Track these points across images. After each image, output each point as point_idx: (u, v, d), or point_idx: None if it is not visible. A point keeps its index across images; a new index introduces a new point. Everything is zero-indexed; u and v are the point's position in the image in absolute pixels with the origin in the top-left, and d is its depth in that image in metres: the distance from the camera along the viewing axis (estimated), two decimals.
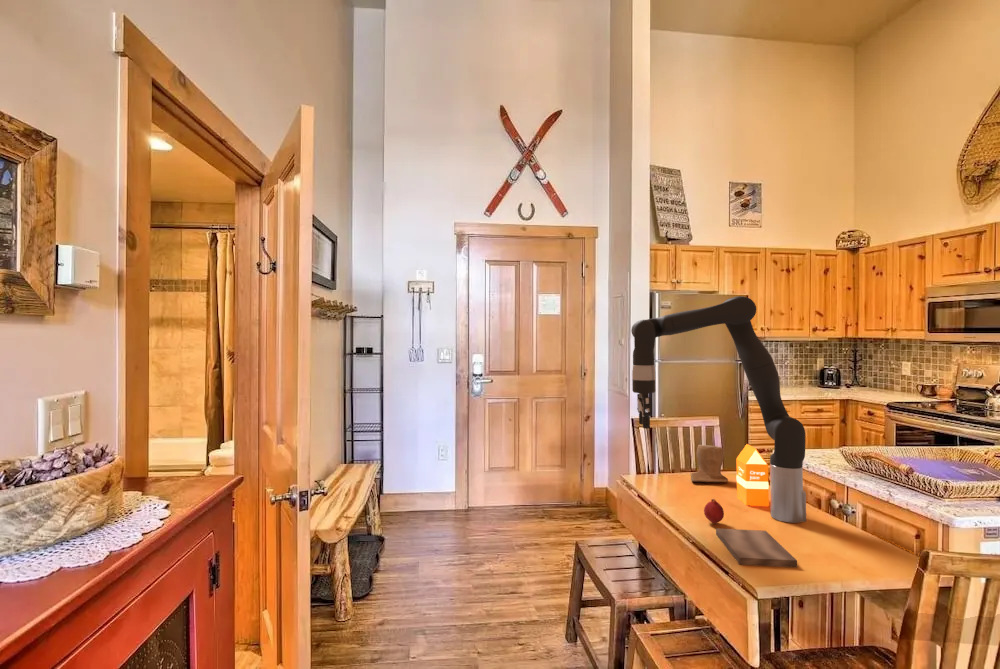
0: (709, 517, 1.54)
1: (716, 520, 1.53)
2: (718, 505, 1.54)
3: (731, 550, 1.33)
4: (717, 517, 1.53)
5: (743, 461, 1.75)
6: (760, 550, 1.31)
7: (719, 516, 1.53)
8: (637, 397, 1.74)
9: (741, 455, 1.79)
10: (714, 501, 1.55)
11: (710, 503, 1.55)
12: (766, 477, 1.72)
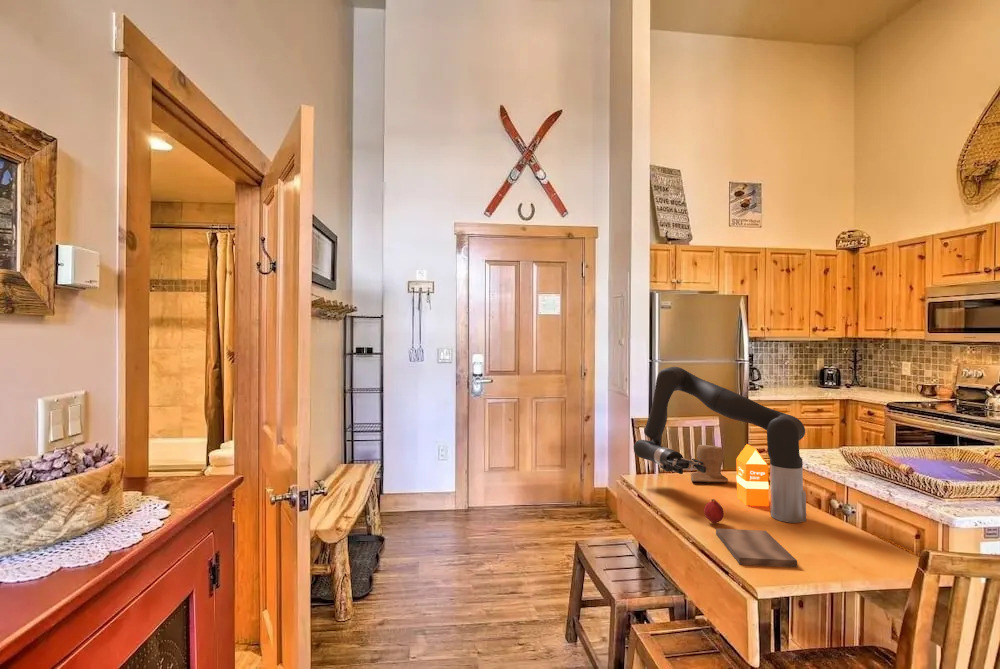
0: (709, 517, 1.54)
1: (716, 520, 1.53)
2: (718, 505, 1.54)
3: (731, 550, 1.33)
4: (717, 517, 1.53)
5: (743, 461, 1.75)
6: (760, 550, 1.31)
7: (719, 516, 1.53)
8: None
9: (741, 455, 1.79)
10: (714, 501, 1.55)
11: (710, 503, 1.55)
12: (766, 477, 1.72)
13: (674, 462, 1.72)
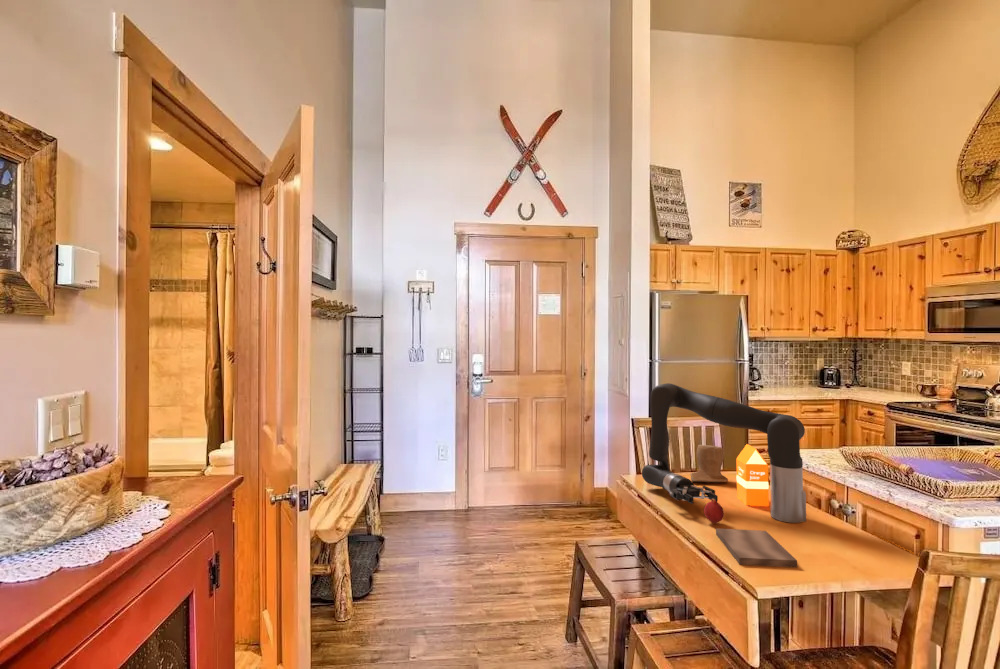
0: (709, 517, 1.54)
1: (716, 520, 1.53)
2: (718, 505, 1.54)
3: (731, 550, 1.33)
4: (717, 517, 1.53)
5: (743, 461, 1.75)
6: (760, 550, 1.31)
7: (719, 516, 1.53)
8: None
9: (741, 455, 1.79)
10: (714, 501, 1.55)
11: (710, 503, 1.55)
12: (766, 477, 1.72)
13: (684, 490, 1.66)
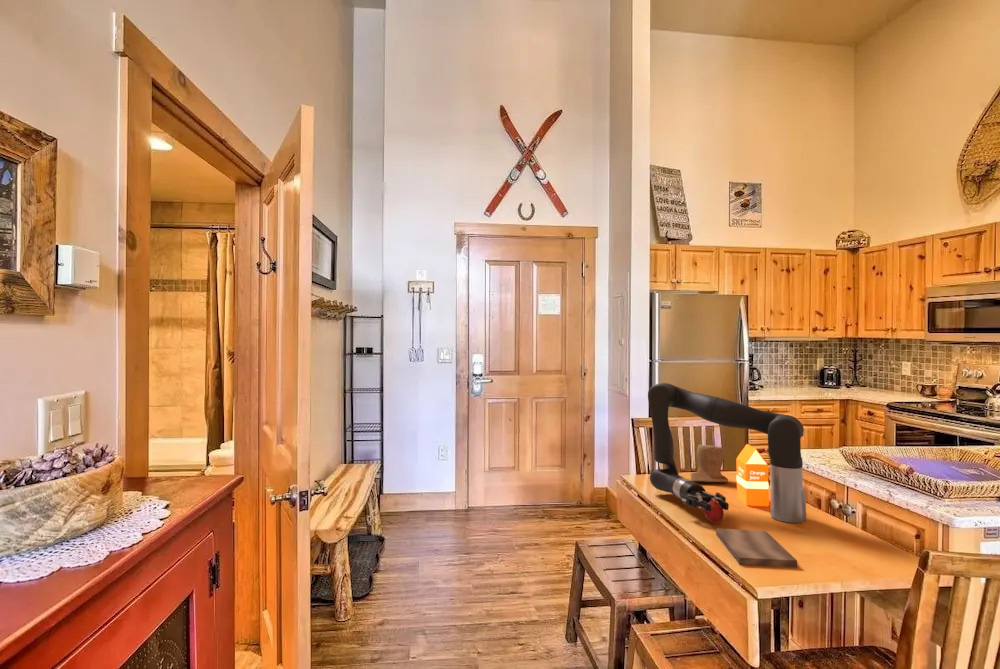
0: (709, 517, 1.54)
1: (716, 520, 1.53)
2: (718, 505, 1.54)
3: (731, 550, 1.33)
4: (717, 517, 1.53)
5: (743, 461, 1.75)
6: (760, 550, 1.31)
7: (719, 516, 1.53)
8: None
9: (741, 455, 1.79)
10: (714, 501, 1.55)
11: (710, 503, 1.55)
12: (766, 477, 1.72)
13: (699, 497, 1.58)
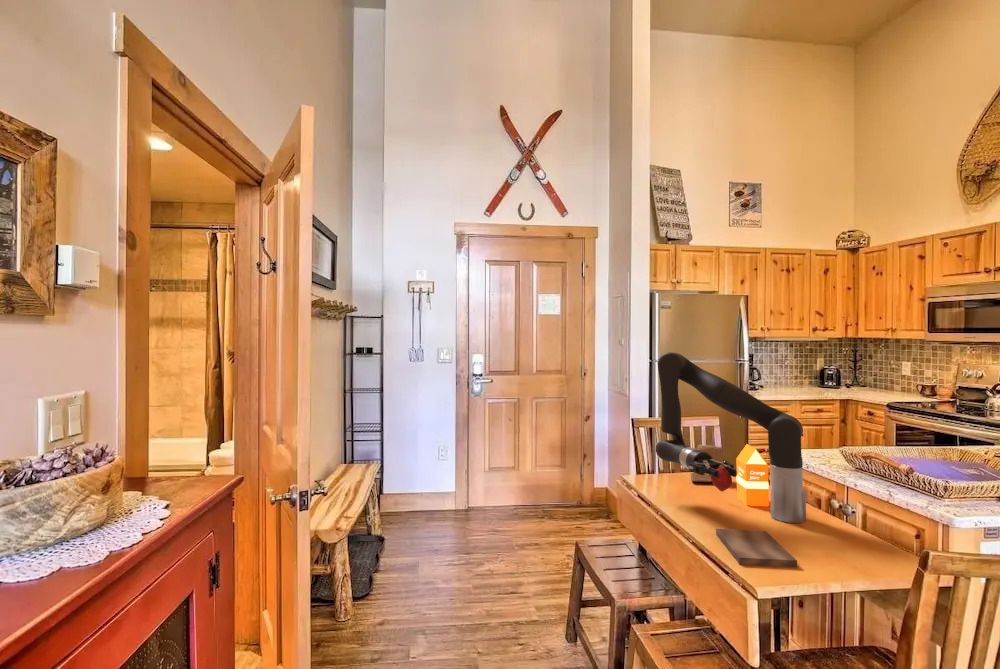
0: (717, 484, 1.49)
1: (724, 487, 1.49)
2: (726, 472, 1.49)
3: (731, 550, 1.33)
4: (725, 483, 1.48)
5: (743, 461, 1.75)
6: (760, 550, 1.31)
7: (727, 483, 1.48)
8: None
9: (741, 455, 1.79)
10: (722, 468, 1.50)
11: (718, 470, 1.50)
12: (766, 477, 1.72)
13: (707, 464, 1.54)
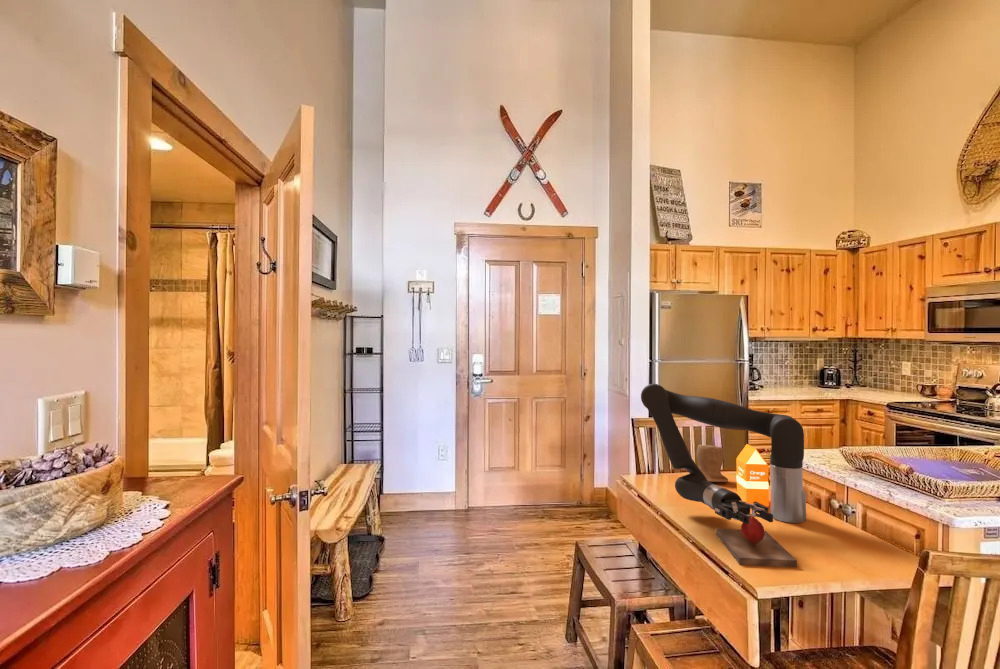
0: (748, 536, 1.34)
1: (756, 540, 1.33)
2: (757, 522, 1.34)
3: (731, 550, 1.33)
4: (757, 536, 1.32)
5: (743, 461, 1.75)
6: (760, 550, 1.31)
7: (760, 535, 1.32)
8: None
9: (741, 455, 1.79)
10: (752, 517, 1.35)
11: None
12: (766, 477, 1.72)
13: (735, 507, 1.38)
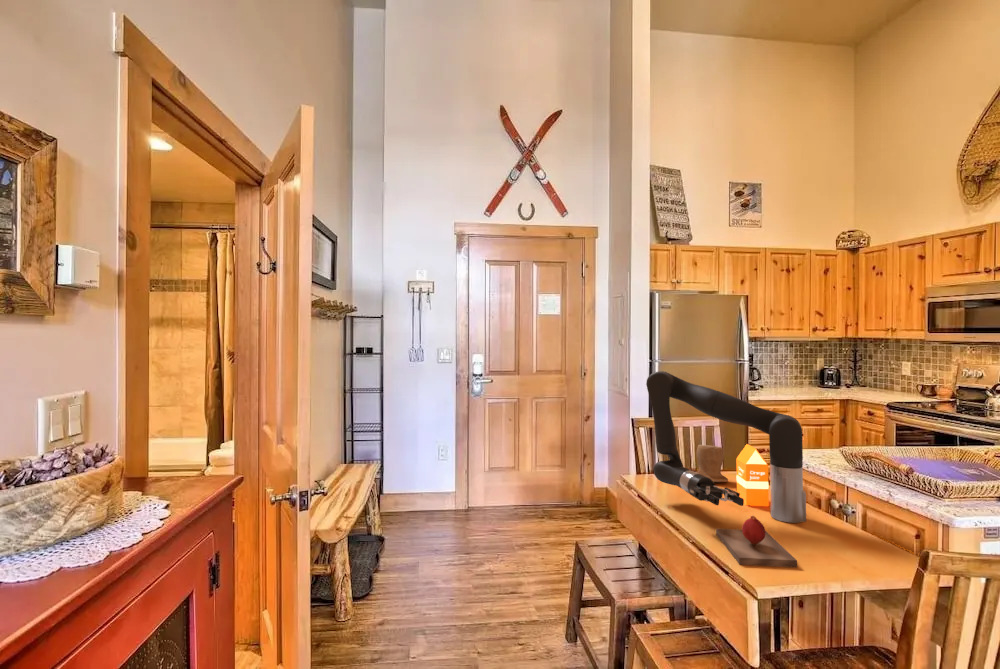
0: (749, 537, 1.33)
1: (757, 540, 1.33)
2: (759, 523, 1.34)
3: (731, 550, 1.33)
4: (758, 537, 1.32)
5: (743, 461, 1.75)
6: (760, 550, 1.31)
7: (761, 536, 1.32)
8: None
9: (741, 455, 1.79)
10: (754, 518, 1.35)
11: (749, 521, 1.35)
12: (766, 477, 1.72)
13: (707, 490, 1.51)
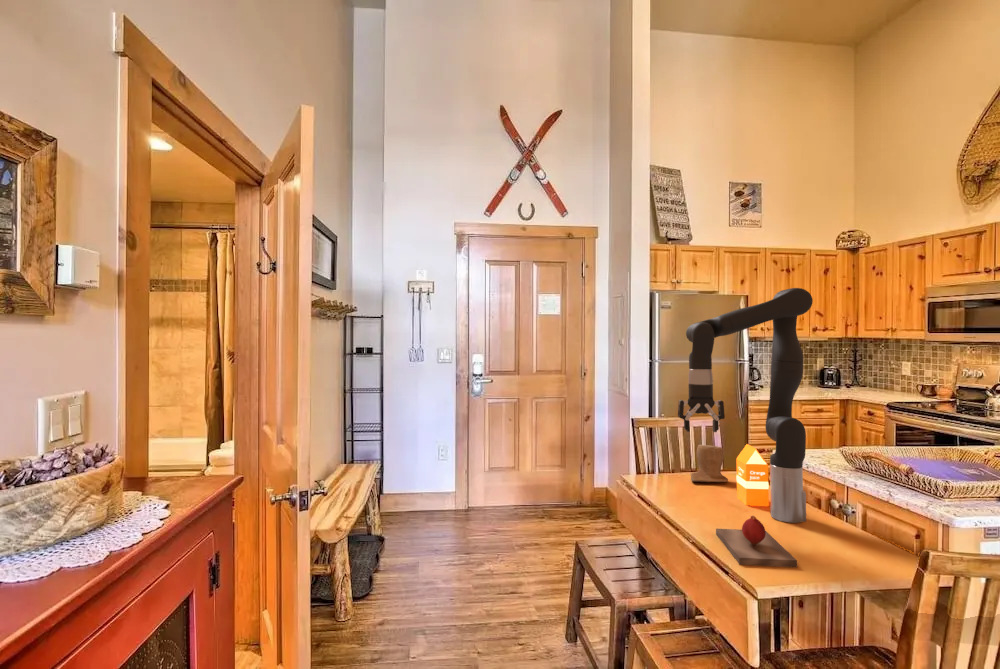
0: (748, 537, 1.33)
1: (757, 540, 1.33)
2: (759, 523, 1.34)
3: (731, 550, 1.33)
4: (758, 537, 1.32)
5: (743, 461, 1.75)
6: (760, 550, 1.31)
7: (761, 536, 1.32)
8: (680, 404, 1.62)
9: (741, 455, 1.79)
10: (754, 518, 1.35)
11: (749, 521, 1.35)
12: (766, 477, 1.72)
13: None
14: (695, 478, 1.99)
